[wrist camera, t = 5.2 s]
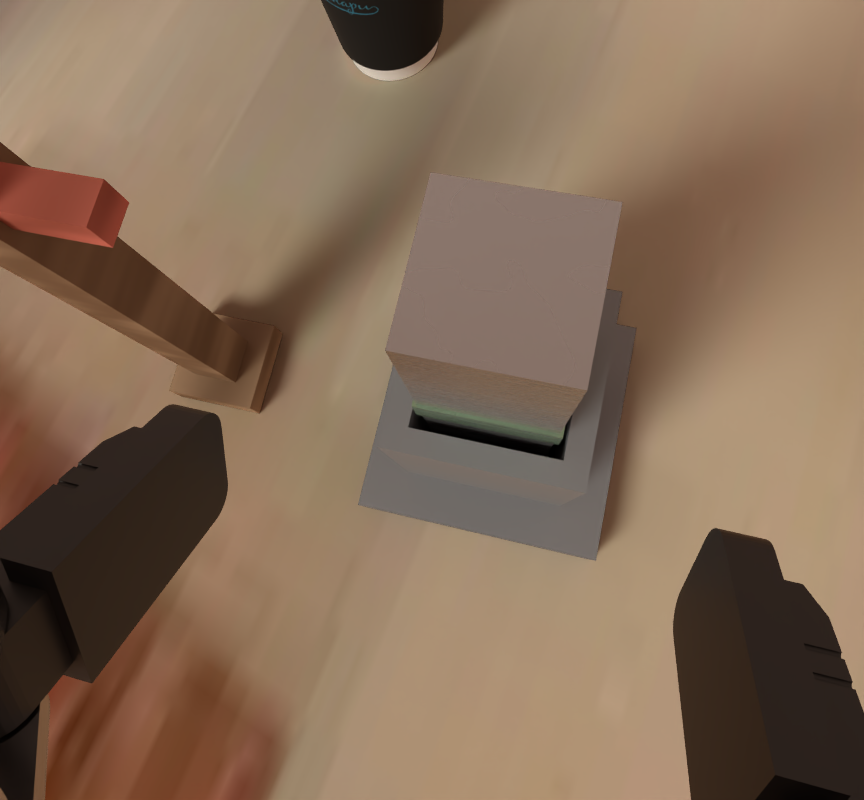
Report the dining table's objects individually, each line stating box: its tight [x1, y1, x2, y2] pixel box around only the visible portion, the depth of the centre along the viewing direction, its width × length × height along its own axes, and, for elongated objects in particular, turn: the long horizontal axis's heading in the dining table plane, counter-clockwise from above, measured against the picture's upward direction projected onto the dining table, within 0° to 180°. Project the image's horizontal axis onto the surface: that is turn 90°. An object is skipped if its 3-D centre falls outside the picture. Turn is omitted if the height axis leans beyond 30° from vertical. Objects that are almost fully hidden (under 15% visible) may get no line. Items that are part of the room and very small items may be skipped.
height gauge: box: [0, 142, 283, 413], centre depth 21 cm, size 6×4×18 cm
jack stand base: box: [358, 289, 636, 561], centre depth 24 cm, size 10×10×9 cm
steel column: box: [385, 173, 622, 457], centre depth 19 cm, size 4×4×14 cm
